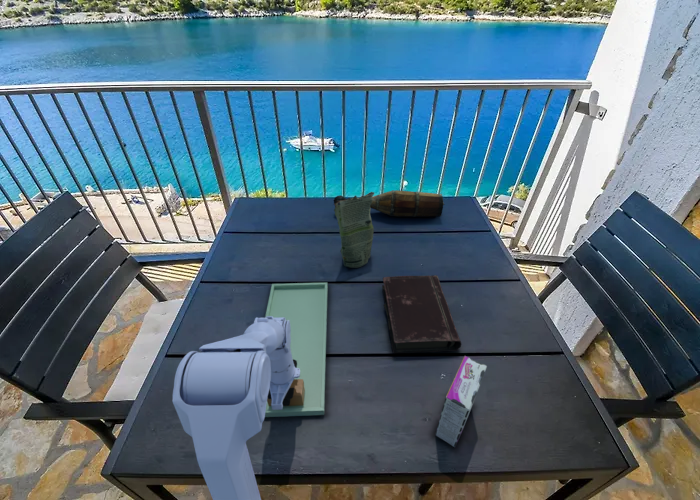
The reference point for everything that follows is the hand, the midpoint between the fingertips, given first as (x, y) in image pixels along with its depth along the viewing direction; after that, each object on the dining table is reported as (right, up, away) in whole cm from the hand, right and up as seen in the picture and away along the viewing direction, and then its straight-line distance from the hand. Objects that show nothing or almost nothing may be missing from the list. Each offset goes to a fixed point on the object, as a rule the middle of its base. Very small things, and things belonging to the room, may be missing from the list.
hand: (286, 394), depth 81 cm
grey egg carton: (+38, -5, -2) cm, 38 cm away
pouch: (+17, +30, +43) cm, 55 cm away
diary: (+34, +14, +22) cm, 43 cm away
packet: (0, -1, +1) cm, 1 cm away
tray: (-1, +8, +15) cm, 17 cm away
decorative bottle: (+30, +49, +66) cm, 87 cm away
